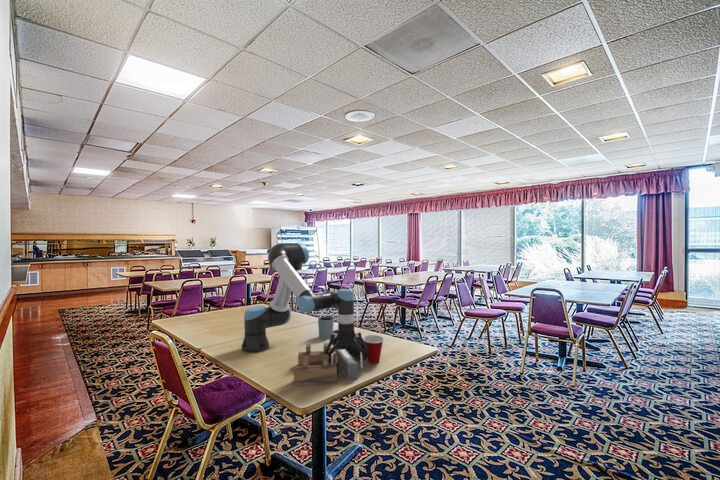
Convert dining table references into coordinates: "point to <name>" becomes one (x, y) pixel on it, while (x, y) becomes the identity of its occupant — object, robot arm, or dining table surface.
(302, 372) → the rack
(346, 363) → the gray rectangular block
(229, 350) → the dining table surface
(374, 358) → the plastic cup
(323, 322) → the grey green pot
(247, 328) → the robot arm
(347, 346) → the black perforated cylinder
